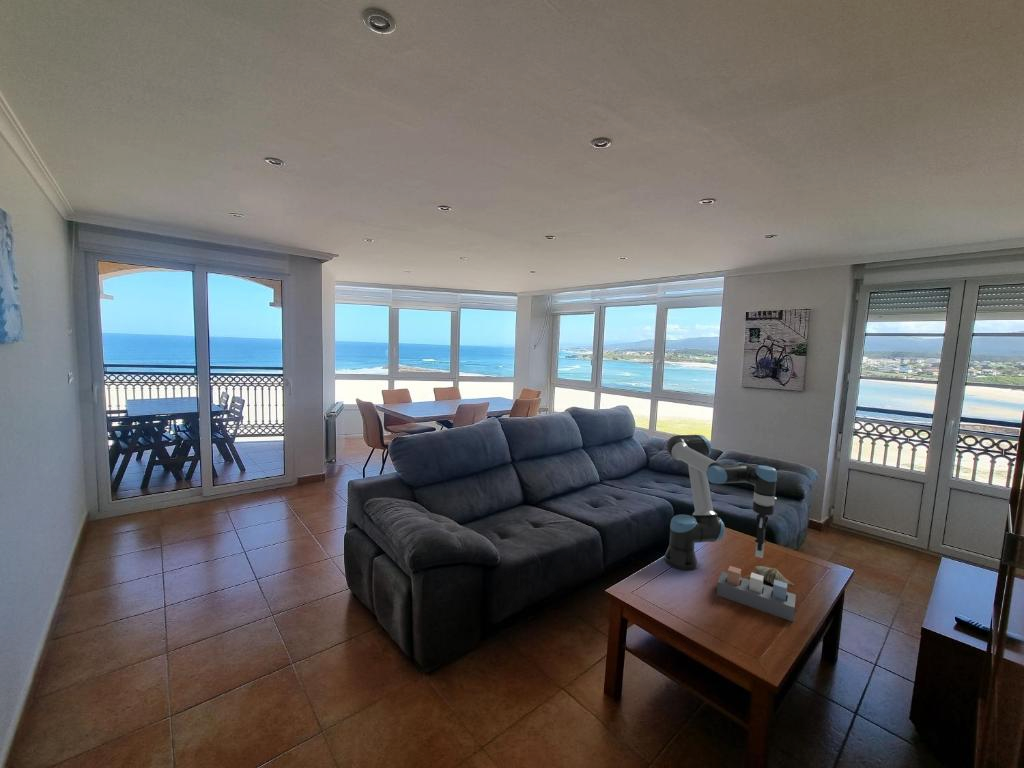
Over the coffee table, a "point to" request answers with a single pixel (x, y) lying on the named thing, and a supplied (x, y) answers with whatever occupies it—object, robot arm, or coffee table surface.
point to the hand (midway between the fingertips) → (759, 556)
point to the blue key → (779, 590)
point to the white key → (756, 582)
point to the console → (757, 597)
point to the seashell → (771, 575)
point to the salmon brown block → (734, 575)
